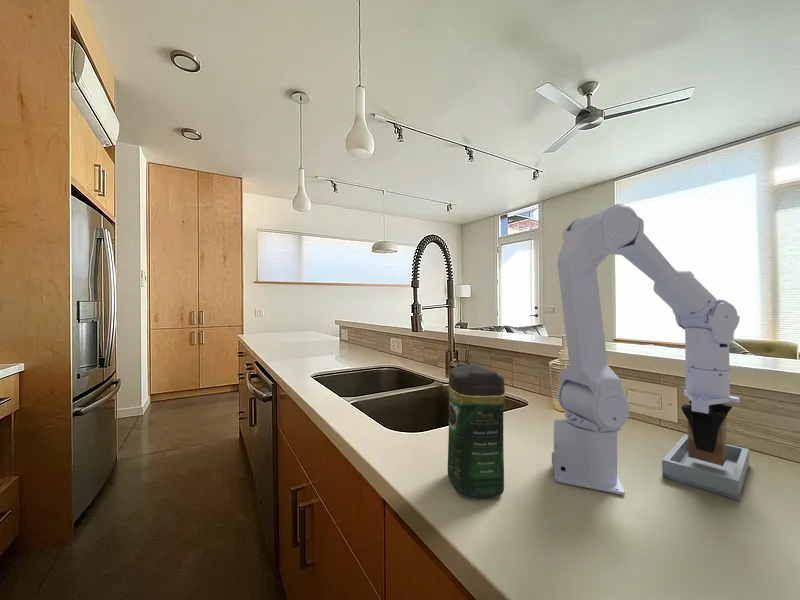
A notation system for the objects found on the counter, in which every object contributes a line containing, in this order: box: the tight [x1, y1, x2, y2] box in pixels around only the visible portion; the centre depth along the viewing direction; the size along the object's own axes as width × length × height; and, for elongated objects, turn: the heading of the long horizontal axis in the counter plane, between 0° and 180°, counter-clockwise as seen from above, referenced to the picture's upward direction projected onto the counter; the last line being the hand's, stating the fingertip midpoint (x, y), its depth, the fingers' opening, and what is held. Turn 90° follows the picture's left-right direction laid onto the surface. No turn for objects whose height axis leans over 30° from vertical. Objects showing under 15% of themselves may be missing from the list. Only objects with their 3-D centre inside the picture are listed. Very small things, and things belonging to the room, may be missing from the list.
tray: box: [661, 434, 750, 501], centre depth 58 cm, size 18×9×3 cm, turn 131°
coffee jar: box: [447, 363, 506, 501], centre depth 53 cm, size 10×8×19 cm
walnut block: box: [687, 417, 727, 466], centre depth 58 cm, size 4×4×7 cm
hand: (707, 446), depth 58 cm, fingers closed on walnut block, 4 cm apart
